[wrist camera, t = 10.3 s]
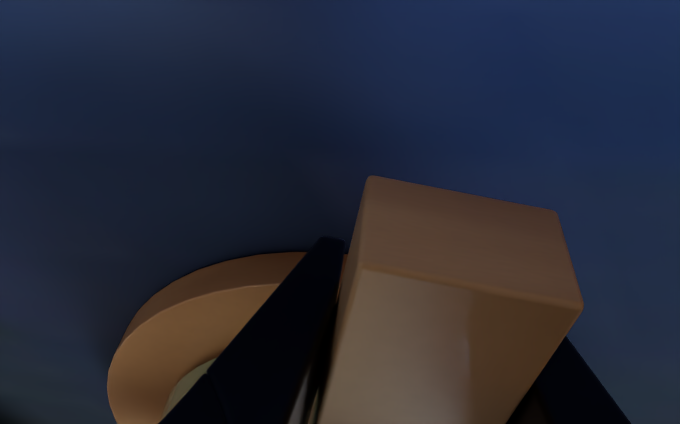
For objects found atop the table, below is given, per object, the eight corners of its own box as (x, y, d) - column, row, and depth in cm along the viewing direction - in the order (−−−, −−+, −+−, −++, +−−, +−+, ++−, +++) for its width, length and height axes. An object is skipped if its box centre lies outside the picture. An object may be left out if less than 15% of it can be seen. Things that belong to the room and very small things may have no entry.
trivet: (486, 525, 25) (488, 556, 24) (144, 472, 25) (134, 500, 24) (644, 299, 15) (658, 335, 14) (86, 211, 15) (65, 242, 14)
